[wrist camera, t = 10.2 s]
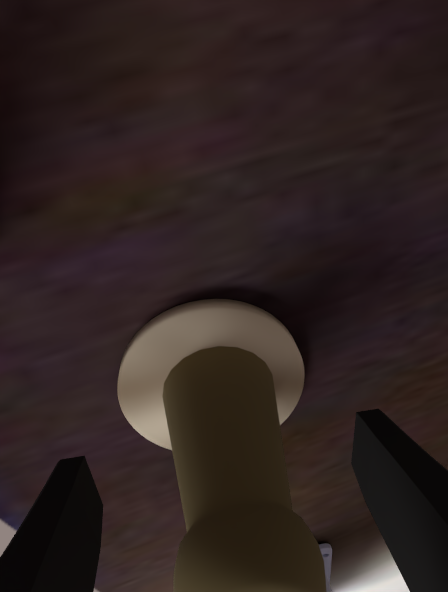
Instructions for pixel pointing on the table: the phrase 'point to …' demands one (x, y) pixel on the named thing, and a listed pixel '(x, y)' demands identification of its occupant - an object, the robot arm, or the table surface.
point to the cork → (235, 480)
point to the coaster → (196, 336)
